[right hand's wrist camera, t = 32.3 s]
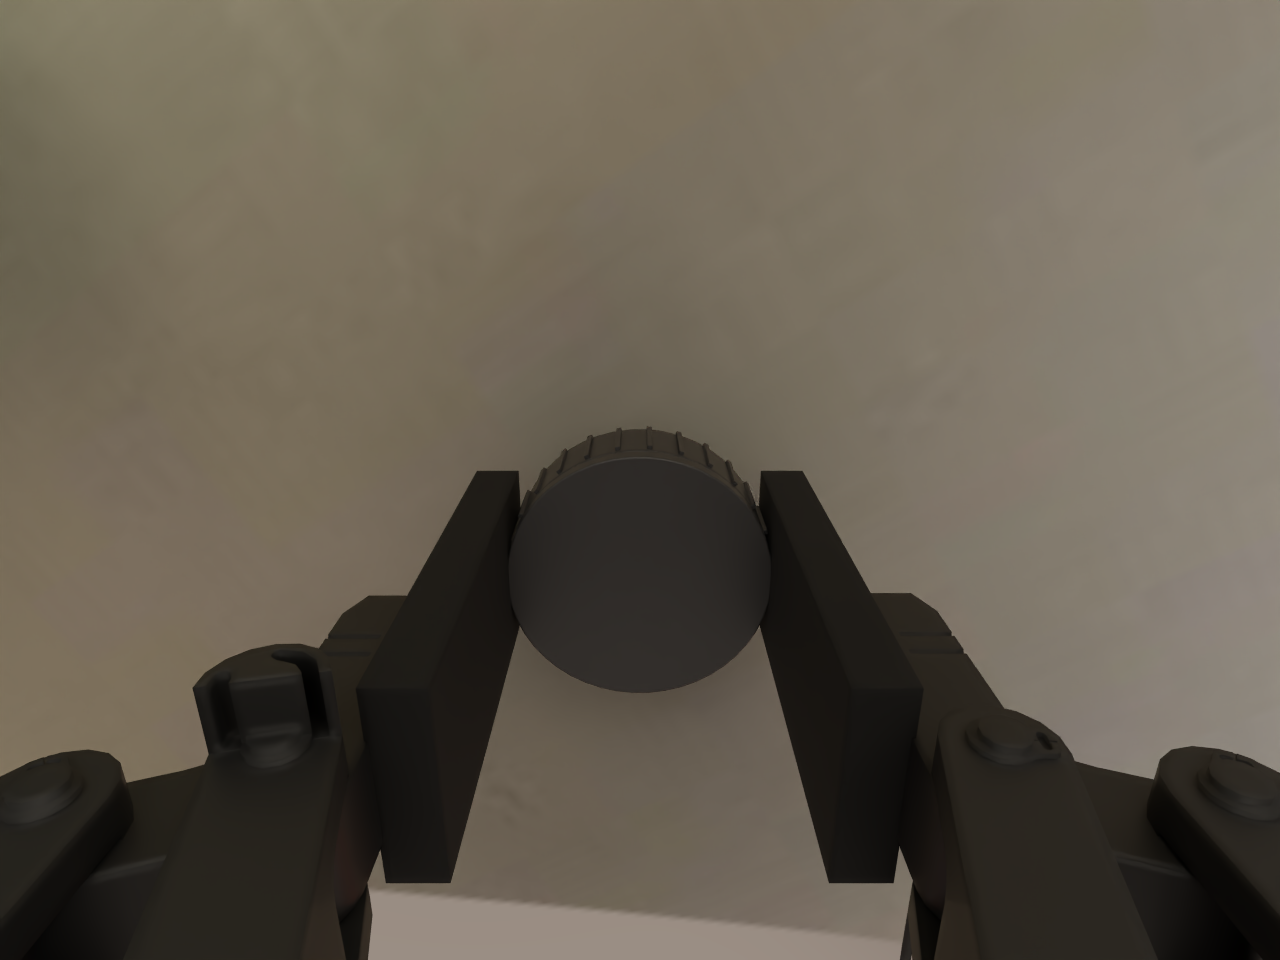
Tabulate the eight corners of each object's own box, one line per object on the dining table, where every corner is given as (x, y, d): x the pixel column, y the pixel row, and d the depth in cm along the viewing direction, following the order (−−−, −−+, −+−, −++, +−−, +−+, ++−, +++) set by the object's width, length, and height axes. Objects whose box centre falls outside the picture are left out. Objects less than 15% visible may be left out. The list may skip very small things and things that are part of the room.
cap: (721, 389, 14) (731, 415, 12) (790, 608, 15) (807, 654, 14) (477, 471, 14) (458, 504, 13) (569, 674, 16) (562, 725, 14)
